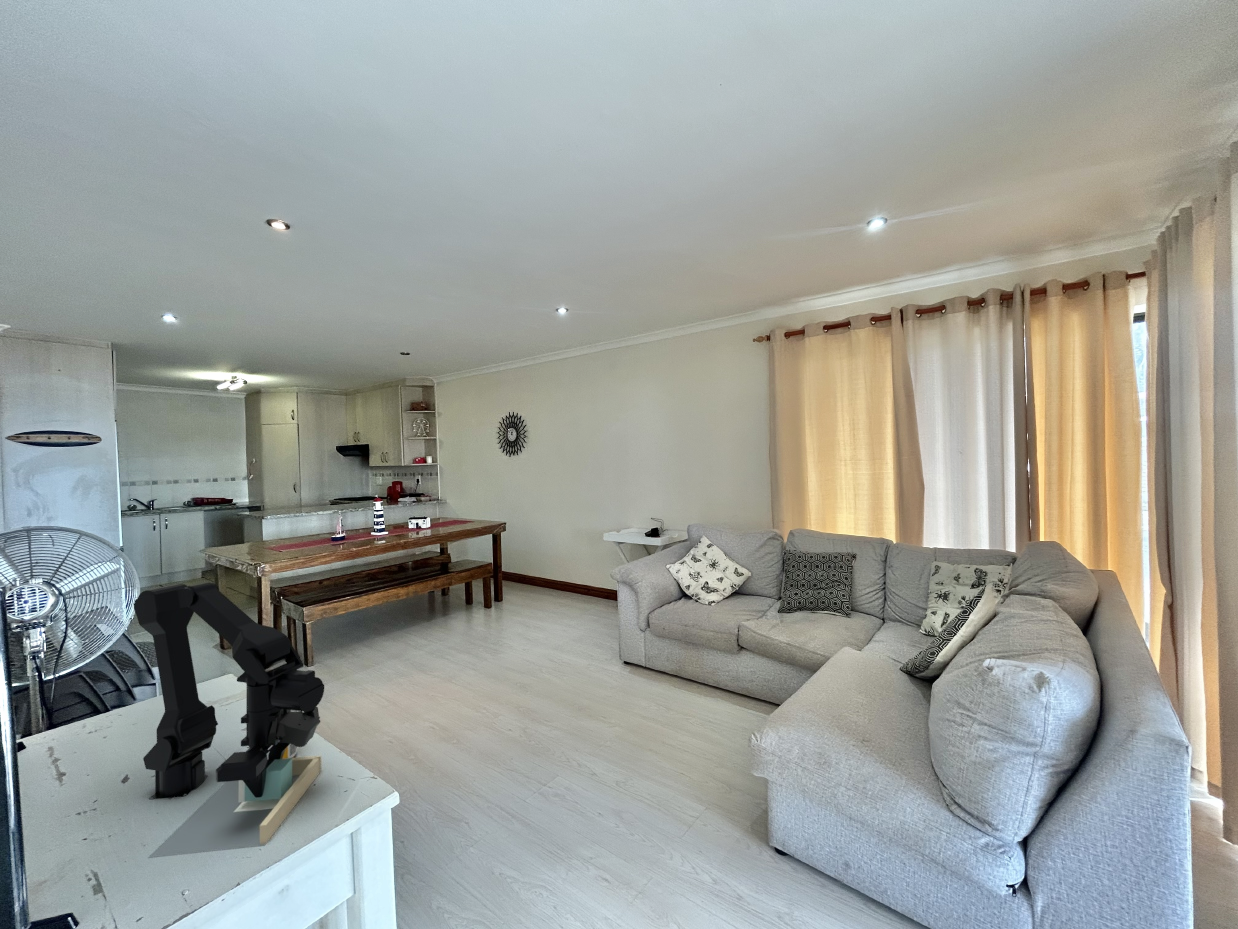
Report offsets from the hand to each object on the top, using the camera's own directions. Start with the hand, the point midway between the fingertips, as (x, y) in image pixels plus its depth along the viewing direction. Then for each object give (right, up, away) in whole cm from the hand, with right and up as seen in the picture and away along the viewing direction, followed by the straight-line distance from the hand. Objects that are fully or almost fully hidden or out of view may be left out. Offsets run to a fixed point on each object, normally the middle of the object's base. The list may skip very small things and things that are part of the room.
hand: (265, 789), depth 92 cm
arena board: (-2, -3, -2) cm, 4 cm away
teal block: (0, -1, 0) cm, 1 cm away
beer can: (-7, -3, +14) cm, 16 cm away
